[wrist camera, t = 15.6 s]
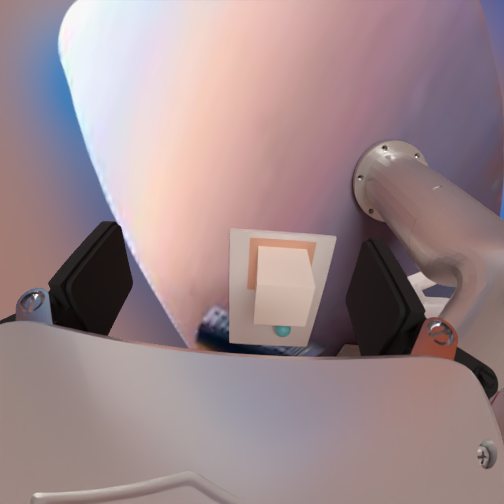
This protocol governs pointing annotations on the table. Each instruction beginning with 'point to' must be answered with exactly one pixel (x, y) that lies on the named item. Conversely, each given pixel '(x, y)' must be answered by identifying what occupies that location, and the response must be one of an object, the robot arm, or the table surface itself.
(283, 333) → the marble
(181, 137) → the table surface
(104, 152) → the table surface
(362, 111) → the table surface
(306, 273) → the cream rectangular block
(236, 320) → the mat
